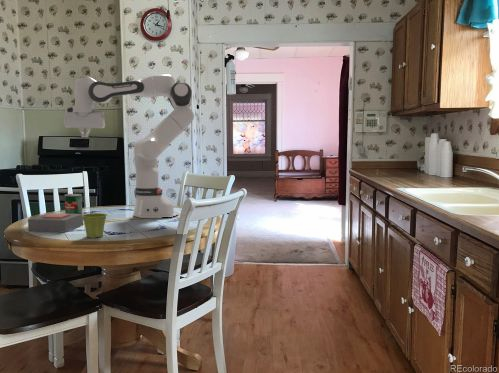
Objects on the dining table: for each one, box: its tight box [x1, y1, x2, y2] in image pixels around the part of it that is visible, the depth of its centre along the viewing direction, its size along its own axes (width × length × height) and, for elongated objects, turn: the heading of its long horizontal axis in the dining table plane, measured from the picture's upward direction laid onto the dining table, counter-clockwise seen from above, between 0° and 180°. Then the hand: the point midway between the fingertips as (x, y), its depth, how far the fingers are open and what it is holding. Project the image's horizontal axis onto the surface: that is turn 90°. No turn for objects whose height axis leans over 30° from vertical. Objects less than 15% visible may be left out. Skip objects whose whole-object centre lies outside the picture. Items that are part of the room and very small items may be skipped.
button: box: [43, 214, 70, 218], centre depth 192 cm, size 8×8×4 cm
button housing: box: [27, 212, 84, 233], centre depth 192 cm, size 16×16×5 cm
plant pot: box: [82, 212, 108, 239], centre depth 176 cm, size 9×9×9 cm
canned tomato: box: [64, 193, 83, 214], centre depth 220 cm, size 8×8×11 cm
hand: (84, 137), depth 226 cm, fingers closed
